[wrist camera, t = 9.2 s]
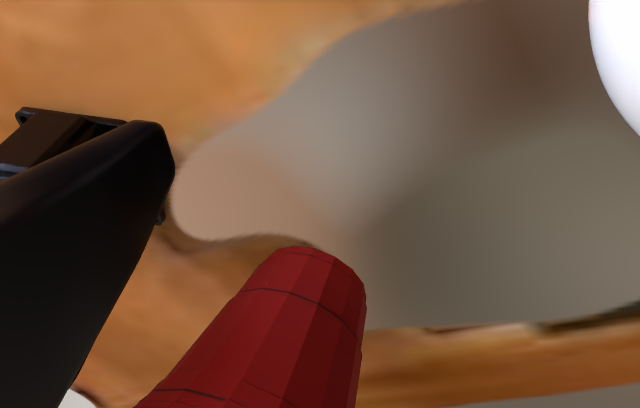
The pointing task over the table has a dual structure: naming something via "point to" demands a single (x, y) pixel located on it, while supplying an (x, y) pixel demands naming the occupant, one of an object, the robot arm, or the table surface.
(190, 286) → the table surface
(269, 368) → the plastic cup
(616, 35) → the lightbulb
